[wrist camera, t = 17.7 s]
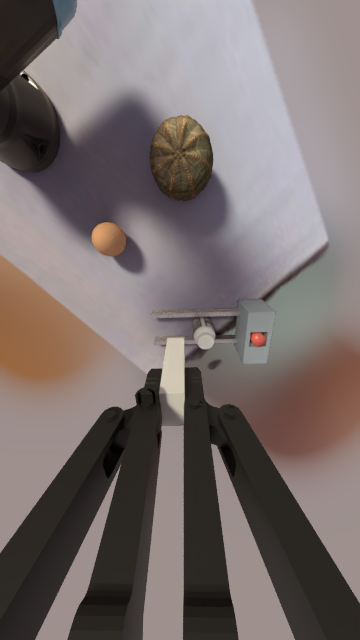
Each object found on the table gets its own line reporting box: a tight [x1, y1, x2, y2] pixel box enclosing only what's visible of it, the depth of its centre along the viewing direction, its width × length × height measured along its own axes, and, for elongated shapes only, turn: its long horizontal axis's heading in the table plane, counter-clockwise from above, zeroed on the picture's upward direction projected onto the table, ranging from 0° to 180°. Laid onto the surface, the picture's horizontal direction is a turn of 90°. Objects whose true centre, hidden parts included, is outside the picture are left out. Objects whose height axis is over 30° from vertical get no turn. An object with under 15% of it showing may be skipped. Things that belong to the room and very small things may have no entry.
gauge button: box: [250, 332, 266, 347], centre depth 48 cm, size 3×3×6 cm
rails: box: [151, 308, 240, 345], centre depth 54 cm, size 23×9×2 cm, turn 92°
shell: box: [150, 115, 213, 201], centre depth 35 cm, size 11×11×12 cm
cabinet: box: [234, 299, 276, 364], centre depth 50 cm, size 6×14×9 cm, turn 2°
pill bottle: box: [193, 317, 215, 349], centre depth 50 cm, size 5×5×10 cm
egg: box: [92, 222, 126, 256], centre depth 42 cm, size 7×7×9 cm
